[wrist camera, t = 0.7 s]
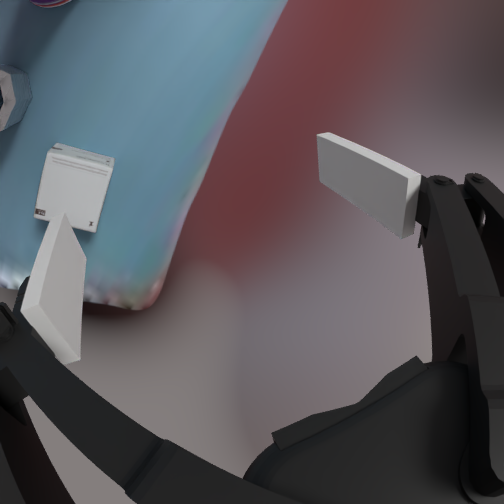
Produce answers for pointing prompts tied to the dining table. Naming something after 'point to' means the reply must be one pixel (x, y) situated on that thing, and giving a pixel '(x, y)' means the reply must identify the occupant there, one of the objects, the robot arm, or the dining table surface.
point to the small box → (73, 186)
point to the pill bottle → (49, 3)
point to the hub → (13, 95)
